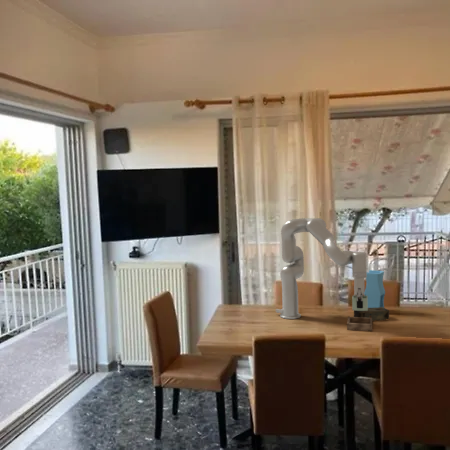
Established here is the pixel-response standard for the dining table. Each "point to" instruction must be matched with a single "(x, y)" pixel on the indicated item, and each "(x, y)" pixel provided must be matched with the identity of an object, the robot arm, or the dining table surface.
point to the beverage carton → (373, 313)
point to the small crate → (365, 303)
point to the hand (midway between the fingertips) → (360, 306)
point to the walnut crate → (359, 324)
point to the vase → (375, 289)
